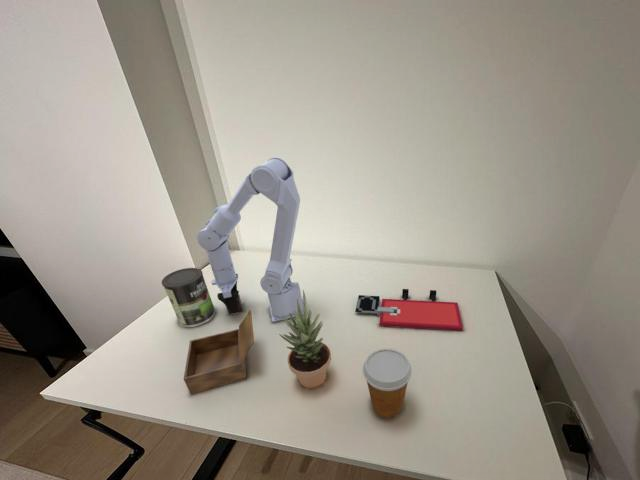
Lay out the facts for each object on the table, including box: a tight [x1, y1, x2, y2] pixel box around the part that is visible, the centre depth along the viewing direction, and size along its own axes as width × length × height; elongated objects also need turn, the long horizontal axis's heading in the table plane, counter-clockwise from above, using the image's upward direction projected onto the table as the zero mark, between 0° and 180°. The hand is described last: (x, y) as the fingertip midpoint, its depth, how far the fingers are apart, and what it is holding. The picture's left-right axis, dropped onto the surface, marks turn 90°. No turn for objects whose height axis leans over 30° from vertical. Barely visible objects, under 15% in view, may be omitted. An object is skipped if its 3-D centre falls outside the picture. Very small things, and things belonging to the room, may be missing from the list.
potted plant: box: [279, 289, 332, 389], centre depth 68 cm, size 10×10×25 cm
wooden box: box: [183, 328, 247, 395], centre depth 77 cm, size 12×13×5 cm
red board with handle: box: [354, 288, 464, 332], centre depth 93 cm, size 30×3×15 cm
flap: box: [238, 309, 255, 362], centre depth 76 cm, size 6×13×1 cm
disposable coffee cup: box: [362, 348, 413, 419], centre depth 64 cm, size 10×10×12 cm
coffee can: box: [161, 267, 216, 328], centre depth 92 cm, size 10×10×14 cm
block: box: [226, 294, 244, 315], centre depth 97 cm, size 4×4×4 cm
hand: (234, 304), depth 97 cm, fingers open, 7 cm apart
